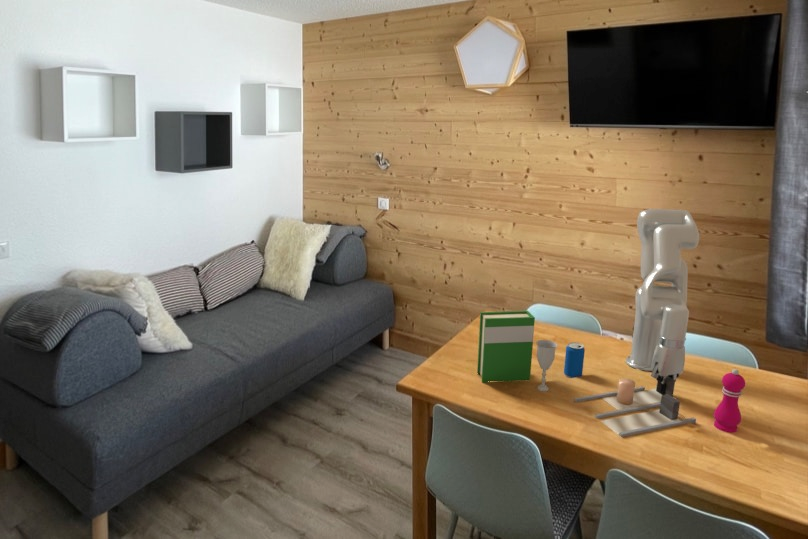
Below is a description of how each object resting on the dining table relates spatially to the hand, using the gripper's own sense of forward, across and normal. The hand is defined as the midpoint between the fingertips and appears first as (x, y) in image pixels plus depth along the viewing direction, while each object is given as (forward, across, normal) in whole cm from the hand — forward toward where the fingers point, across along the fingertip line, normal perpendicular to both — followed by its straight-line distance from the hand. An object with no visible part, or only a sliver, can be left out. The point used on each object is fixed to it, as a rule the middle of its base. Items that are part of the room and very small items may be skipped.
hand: (664, 391), depth 188 cm
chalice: (+2, +37, -16) cm, 41 cm away
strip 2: (+1, +20, +12) cm, 24 cm away
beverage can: (+2, +20, -24) cm, 31 cm away
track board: (+2, +18, +6) cm, 19 cm away
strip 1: (+1, +10, 0) cm, 11 cm away
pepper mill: (+2, -3, +22) cm, 22 cm away
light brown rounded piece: (+1, +16, 0) cm, 17 cm away
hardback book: (+2, +44, -31) cm, 54 cm away
